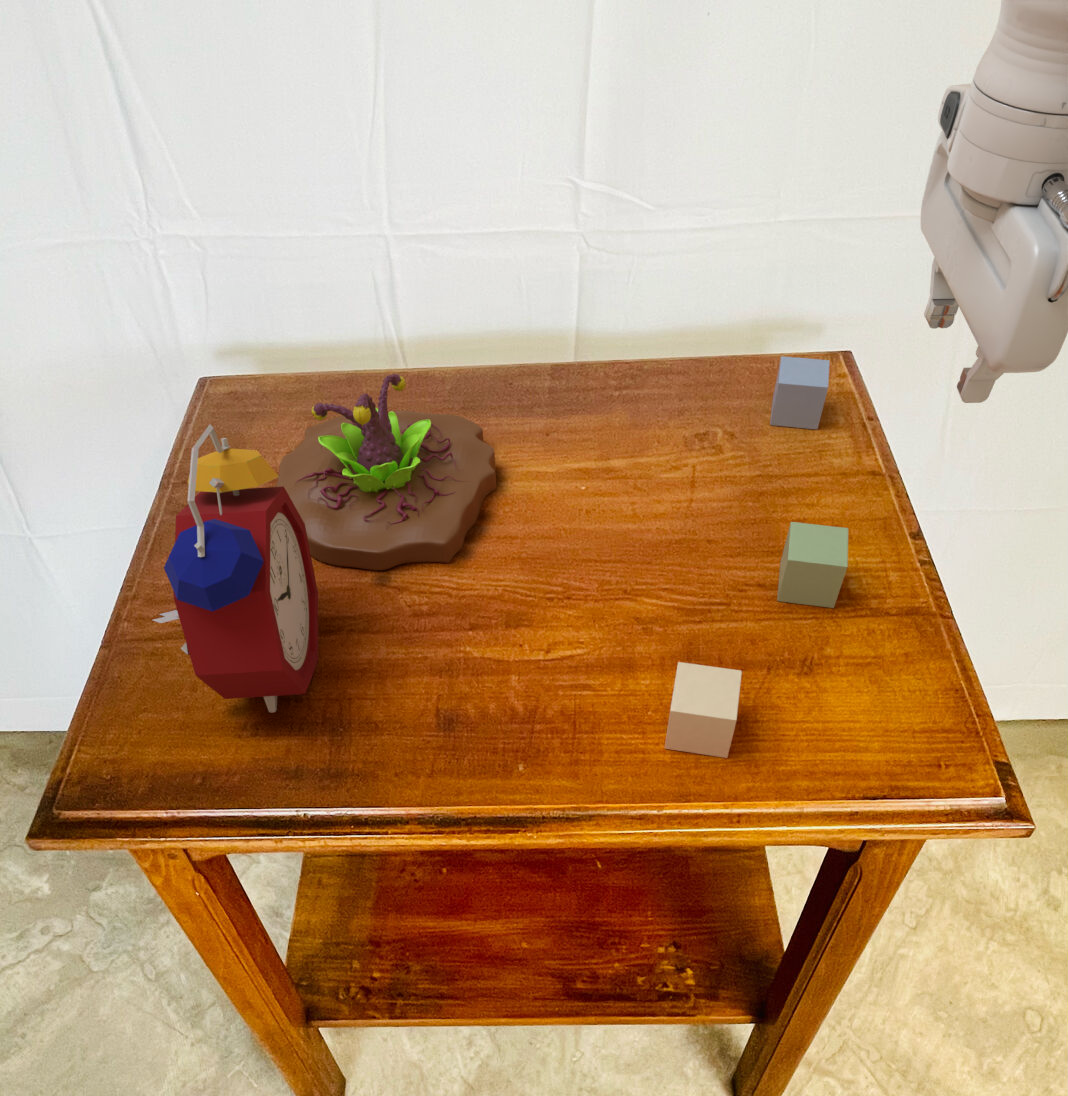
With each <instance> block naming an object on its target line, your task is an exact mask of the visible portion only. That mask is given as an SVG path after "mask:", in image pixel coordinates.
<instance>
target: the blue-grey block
mask: <svg viewBox="0 0 1068 1096" xmlns="http://www.w3.org/2000/svg"><path fill="white" fill-rule="evenodd" d="M830 362H831V361H830V360H829V359H819V358H807V357H806V358H805V357H796V356H795V357H794V356H783V355H781V356H780V359H779V365H778V369H777V375H776V380H775V385H774V389H773V395H772V402H771V410H770V412H771V413H770V422H769V425H770V426H774V427H775V426H776V427H785V428H786V427H787V428H797V429H805V430H806V429H807V430H816V431H817V430H819V426H820V422H821V417H822V414H823V410H824V406H825V402H826V398H827V395H828V391H829V382H830Z"/></svg>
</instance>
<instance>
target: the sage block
mask: <svg viewBox="0 0 1068 1096" xmlns="http://www.w3.org/2000/svg"><path fill="white" fill-rule="evenodd" d="M848 565H849V528H848V527H841V526H831V525H825V524H824V525H823V524H814V523H808V522H806V523H805V522H797V521H790V523H789V527H788V531H787V535H786V538H785V543H784V547H783V551H782V555H781V559H780V563H779V572H778V573H779V574H778V583H777V584H778V585H777V586H778V587H777V597H776V598H777V599H776V601H777V602H780V603H788V604H789V603H790V604H797V605H803V606H812V607H813V606H815V607H821V608H829V609H834V608H835V606H836V603H837V600H838V596H839V594H840V591H841V588H842V586H843V583H844V582H843V581H844V579H845V576H846V573H847V570H848V567H849V566H848Z"/></svg>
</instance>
